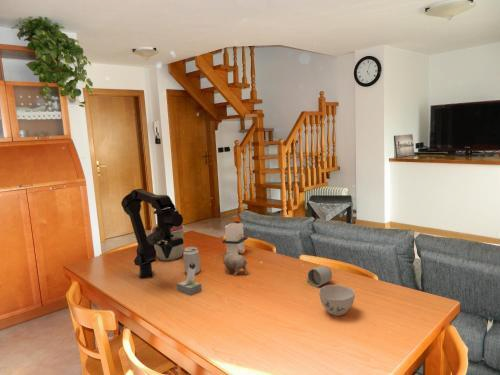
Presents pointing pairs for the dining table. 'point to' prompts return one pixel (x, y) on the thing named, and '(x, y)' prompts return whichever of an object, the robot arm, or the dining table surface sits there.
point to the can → (191, 258)
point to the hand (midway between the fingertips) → (167, 258)
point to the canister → (176, 250)
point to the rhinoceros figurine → (234, 263)
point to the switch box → (189, 287)
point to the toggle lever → (190, 273)
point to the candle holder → (234, 238)
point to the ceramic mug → (319, 275)
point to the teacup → (336, 298)
